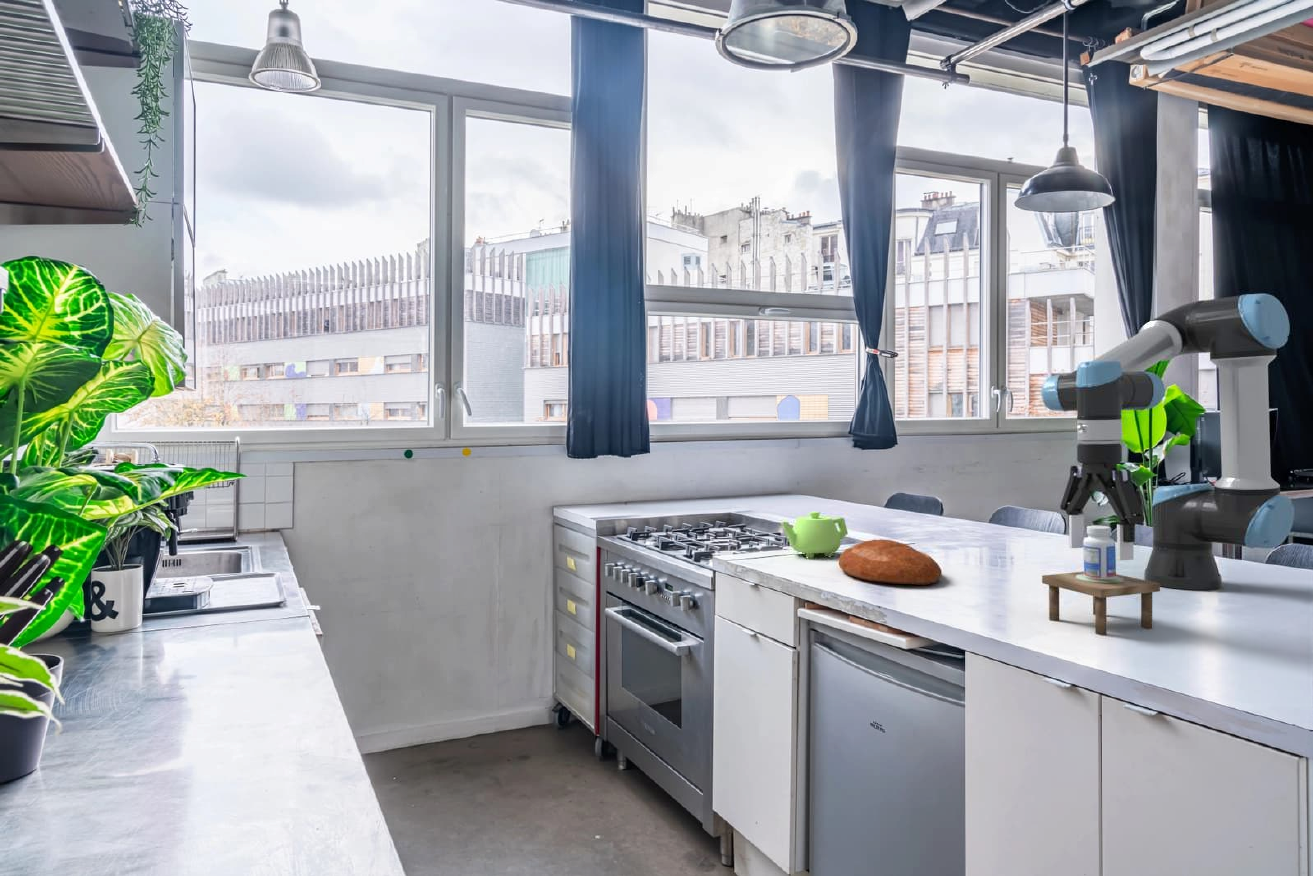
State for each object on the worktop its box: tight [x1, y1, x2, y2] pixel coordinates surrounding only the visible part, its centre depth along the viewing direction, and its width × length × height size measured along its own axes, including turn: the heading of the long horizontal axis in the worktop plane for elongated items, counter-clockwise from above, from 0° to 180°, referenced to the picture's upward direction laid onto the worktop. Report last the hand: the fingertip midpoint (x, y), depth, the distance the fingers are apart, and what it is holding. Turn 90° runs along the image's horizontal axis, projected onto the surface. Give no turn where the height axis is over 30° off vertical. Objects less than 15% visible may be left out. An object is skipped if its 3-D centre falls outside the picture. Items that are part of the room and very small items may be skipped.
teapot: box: [781, 511, 849, 559], centre depth 236 cm, size 20×13×13 cm
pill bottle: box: [1082, 525, 1117, 580], centre depth 156 cm, size 6×5×10 cm
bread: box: [838, 538, 942, 586], centre depth 206 cm, size 23×32×9 cm
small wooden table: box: [1041, 571, 1161, 636], centre depth 156 cm, size 14×14×9 cm
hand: (1100, 553), depth 156 cm, fingers open, 13 cm apart
